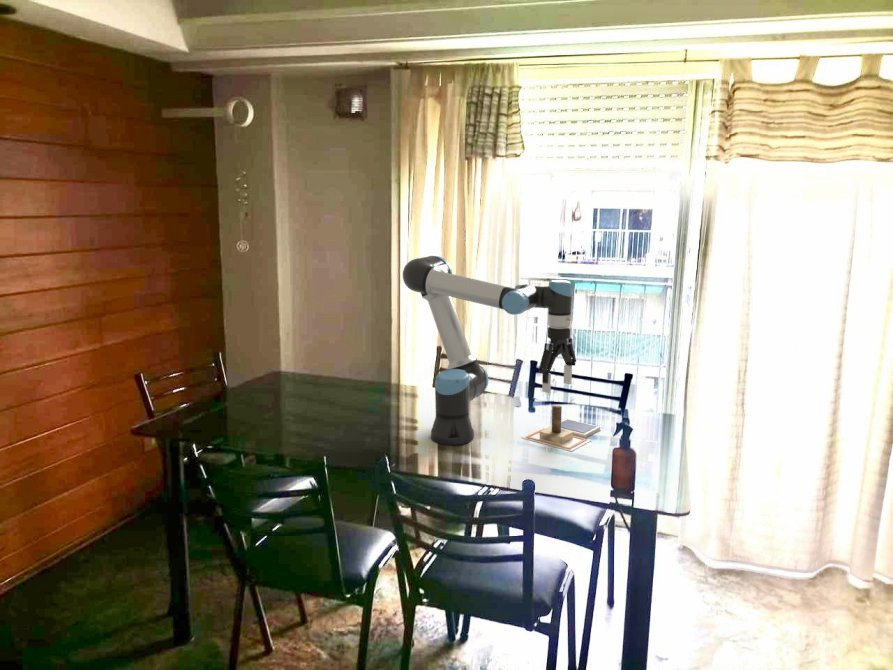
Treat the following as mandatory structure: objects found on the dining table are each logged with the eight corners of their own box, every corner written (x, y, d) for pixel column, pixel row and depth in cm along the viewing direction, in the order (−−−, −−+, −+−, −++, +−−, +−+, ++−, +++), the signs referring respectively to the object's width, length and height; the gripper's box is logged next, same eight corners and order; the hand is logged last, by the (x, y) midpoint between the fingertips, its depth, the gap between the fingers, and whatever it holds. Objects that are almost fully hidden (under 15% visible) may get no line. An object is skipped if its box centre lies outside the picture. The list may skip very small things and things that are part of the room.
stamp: (539, 438, 230) (540, 406, 228) (550, 433, 235) (551, 401, 233) (562, 444, 224) (563, 411, 222) (572, 438, 229) (573, 406, 227)
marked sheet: (521, 437, 231) (521, 436, 231) (542, 428, 241) (542, 426, 241) (571, 451, 218) (571, 450, 218) (591, 440, 228) (591, 439, 228)
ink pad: (550, 429, 240) (550, 425, 239) (566, 421, 248) (566, 418, 248) (584, 438, 231) (585, 434, 230) (600, 429, 239) (600, 426, 239)
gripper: (548, 333, 210) (546, 397, 214) (587, 322, 229) (585, 382, 233) (528, 330, 215) (527, 393, 219) (568, 320, 233) (566, 378, 238)
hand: (557, 387), depth 226 cm, fingers open, 13 cm apart
